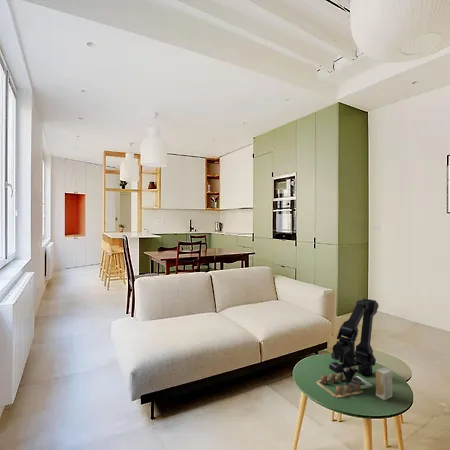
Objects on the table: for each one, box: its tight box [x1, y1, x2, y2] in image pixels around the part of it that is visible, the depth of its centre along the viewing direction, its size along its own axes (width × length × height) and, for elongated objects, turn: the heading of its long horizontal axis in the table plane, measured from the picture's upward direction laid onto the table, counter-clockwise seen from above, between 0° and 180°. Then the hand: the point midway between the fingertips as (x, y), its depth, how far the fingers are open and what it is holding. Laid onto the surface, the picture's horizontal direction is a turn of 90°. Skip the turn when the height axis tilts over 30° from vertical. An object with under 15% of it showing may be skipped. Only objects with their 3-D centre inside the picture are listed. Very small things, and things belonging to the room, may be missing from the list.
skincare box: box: [375, 366, 393, 401], centre depth 137 cm, size 6×4×12 cm
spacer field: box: [315, 372, 364, 399], centre depth 145 cm, size 16×15×4 cm
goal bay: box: [355, 375, 373, 390], centre depth 149 cm, size 7×9×1 cm
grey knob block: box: [347, 375, 363, 388], centre depth 147 cm, size 4×4×3 cm
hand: (348, 382), depth 147 cm, fingers closed
